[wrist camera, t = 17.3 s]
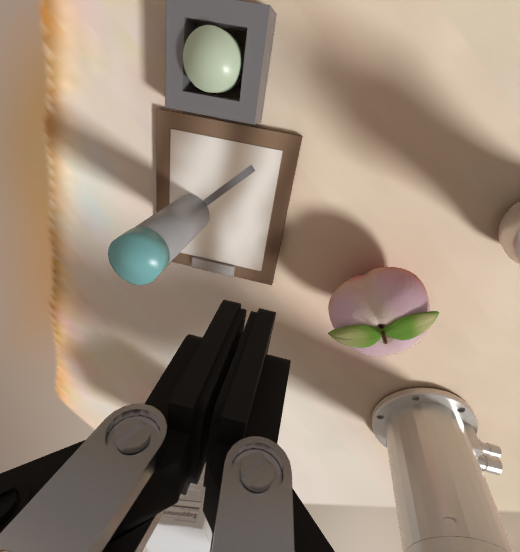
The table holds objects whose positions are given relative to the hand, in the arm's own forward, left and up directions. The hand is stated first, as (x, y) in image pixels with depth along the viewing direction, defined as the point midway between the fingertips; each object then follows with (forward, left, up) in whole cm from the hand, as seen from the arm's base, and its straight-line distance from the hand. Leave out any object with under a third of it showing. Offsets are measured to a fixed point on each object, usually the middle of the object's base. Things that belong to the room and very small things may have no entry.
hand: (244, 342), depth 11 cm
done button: (+9, -8, -24) cm, 27 cm away
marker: (+11, +6, -24) cm, 27 cm away
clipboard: (+8, +4, -25) cm, 27 cm away
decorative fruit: (-10, +10, -25) cm, 29 cm away
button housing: (+9, -8, -25) cm, 28 cm away
